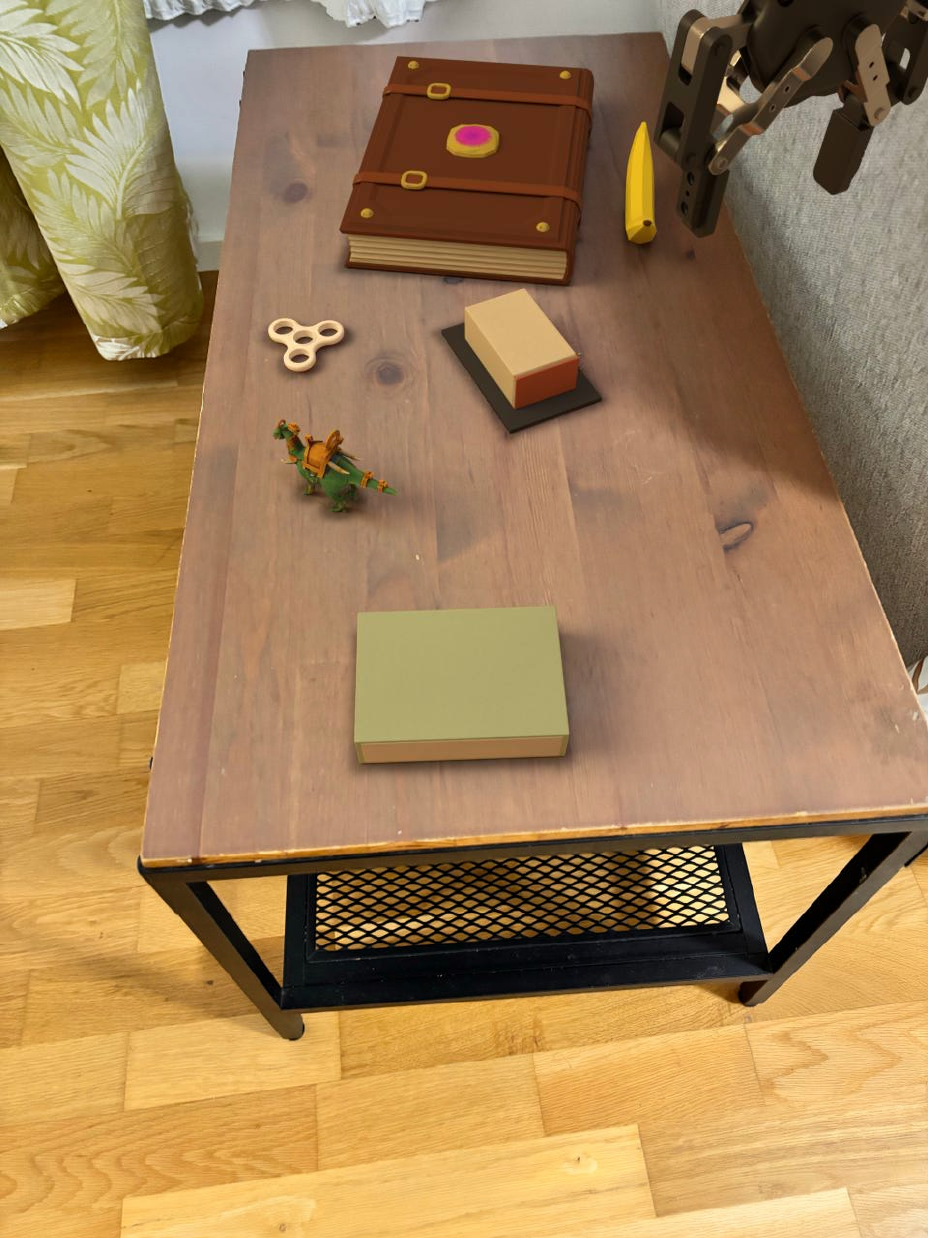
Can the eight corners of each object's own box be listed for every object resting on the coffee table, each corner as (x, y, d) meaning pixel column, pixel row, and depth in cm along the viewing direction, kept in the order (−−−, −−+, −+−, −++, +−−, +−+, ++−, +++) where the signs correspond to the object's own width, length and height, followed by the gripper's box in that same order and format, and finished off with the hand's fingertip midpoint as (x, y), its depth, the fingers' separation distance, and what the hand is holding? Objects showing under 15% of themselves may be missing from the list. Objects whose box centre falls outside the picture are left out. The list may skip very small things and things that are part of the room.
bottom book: (552, 631, 68) (555, 605, 65) (565, 757, 63) (569, 735, 60) (362, 637, 68) (357, 612, 65) (359, 764, 62) (353, 743, 60)
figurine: (295, 459, 77) (277, 386, 70) (412, 520, 74) (407, 449, 67) (271, 482, 76) (251, 411, 69) (390, 546, 72) (382, 477, 65)
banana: (650, 166, 99) (660, 107, 94) (652, 281, 89) (664, 222, 84) (623, 165, 99) (632, 106, 94) (622, 280, 89) (632, 221, 84)
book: (342, 267, 90) (335, 222, 86) (397, 94, 107) (394, 48, 103) (573, 287, 89) (578, 241, 84) (593, 107, 105) (599, 61, 101)
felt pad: (601, 400, 81) (602, 397, 80) (510, 433, 79) (510, 430, 78) (527, 304, 87) (527, 301, 87) (441, 333, 85) (441, 329, 85)
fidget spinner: (346, 325, 86) (345, 319, 85) (336, 374, 82) (335, 368, 82) (272, 322, 86) (270, 315, 85) (259, 371, 83) (257, 364, 82)
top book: (575, 388, 81) (579, 357, 78) (514, 410, 79) (516, 379, 76) (522, 318, 86) (524, 287, 83) (464, 338, 84) (464, 307, 81)
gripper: (782, -104, 32) (689, 286, 46) (1089, -176, 35) (915, 209, 49) (666, -179, 36) (612, 204, 49) (954, -237, 39) (828, 137, 53)
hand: (763, 206), depth 49 cm, fingers open, 8 cm apart
